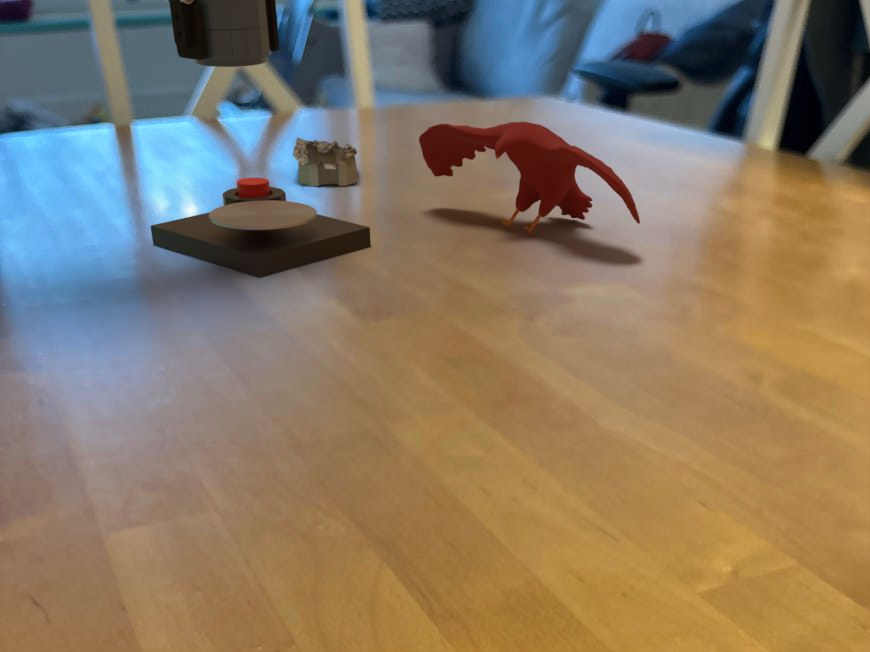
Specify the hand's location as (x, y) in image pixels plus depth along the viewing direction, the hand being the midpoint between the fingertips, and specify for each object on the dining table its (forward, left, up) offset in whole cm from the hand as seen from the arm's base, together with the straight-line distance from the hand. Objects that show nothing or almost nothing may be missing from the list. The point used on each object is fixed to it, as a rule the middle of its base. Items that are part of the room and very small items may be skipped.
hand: (229, 52), depth 93 cm
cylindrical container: (0, 0, -1) cm, 1 cm away
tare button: (-9, +9, -15) cm, 19 cm away
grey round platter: (-2, +3, -14) cm, 15 cm away
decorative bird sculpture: (+12, +28, -18) cm, 35 cm away
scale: (-4, +5, -18) cm, 19 cm away
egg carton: (-22, +30, -18) cm, 41 cm away
